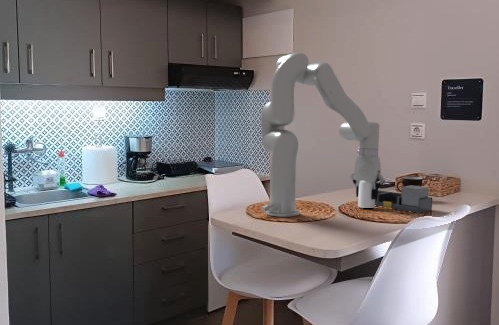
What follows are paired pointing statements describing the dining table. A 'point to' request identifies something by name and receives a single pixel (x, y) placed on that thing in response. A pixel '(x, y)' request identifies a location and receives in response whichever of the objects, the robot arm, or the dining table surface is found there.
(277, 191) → the robot arm
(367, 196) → the can
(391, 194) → the rack
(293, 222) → the dining table surface
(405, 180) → the coffee mug
